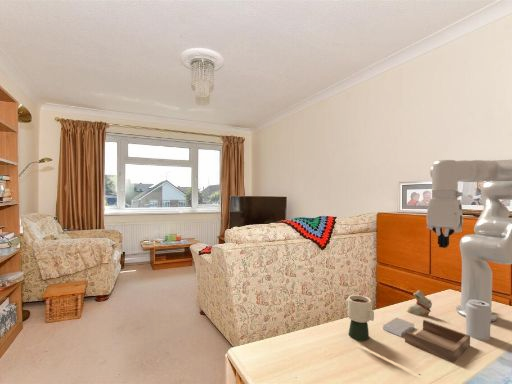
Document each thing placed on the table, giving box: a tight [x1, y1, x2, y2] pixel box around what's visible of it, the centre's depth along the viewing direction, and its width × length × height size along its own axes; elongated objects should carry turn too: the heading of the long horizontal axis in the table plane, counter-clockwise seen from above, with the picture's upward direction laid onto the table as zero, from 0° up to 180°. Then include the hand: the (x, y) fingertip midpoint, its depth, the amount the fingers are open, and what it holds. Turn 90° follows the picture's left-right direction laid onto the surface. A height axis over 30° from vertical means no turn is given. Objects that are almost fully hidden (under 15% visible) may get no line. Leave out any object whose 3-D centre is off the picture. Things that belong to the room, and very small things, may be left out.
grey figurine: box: [406, 290, 433, 317], centre depth 109 cm, size 6×8×10 cm
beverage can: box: [465, 299, 492, 342], centre depth 93 cm, size 6×6×12 cm
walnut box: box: [404, 319, 471, 363], centre depth 87 cm, size 14×13×4 cm
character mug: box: [345, 294, 375, 342], centre depth 91 cm, size 11×7×13 cm, turn 29°
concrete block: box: [382, 317, 415, 338], centre depth 96 cm, size 10×6×2 cm, turn 129°
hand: (443, 247), depth 99 cm, fingers closed
